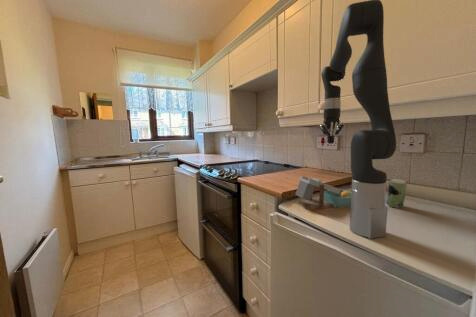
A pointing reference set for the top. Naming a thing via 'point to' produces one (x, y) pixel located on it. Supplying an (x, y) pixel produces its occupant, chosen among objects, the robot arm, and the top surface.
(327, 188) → the chute
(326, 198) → the teal square tray
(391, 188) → the beverage can
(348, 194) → the ball
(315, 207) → the stand
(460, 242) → the top surface
